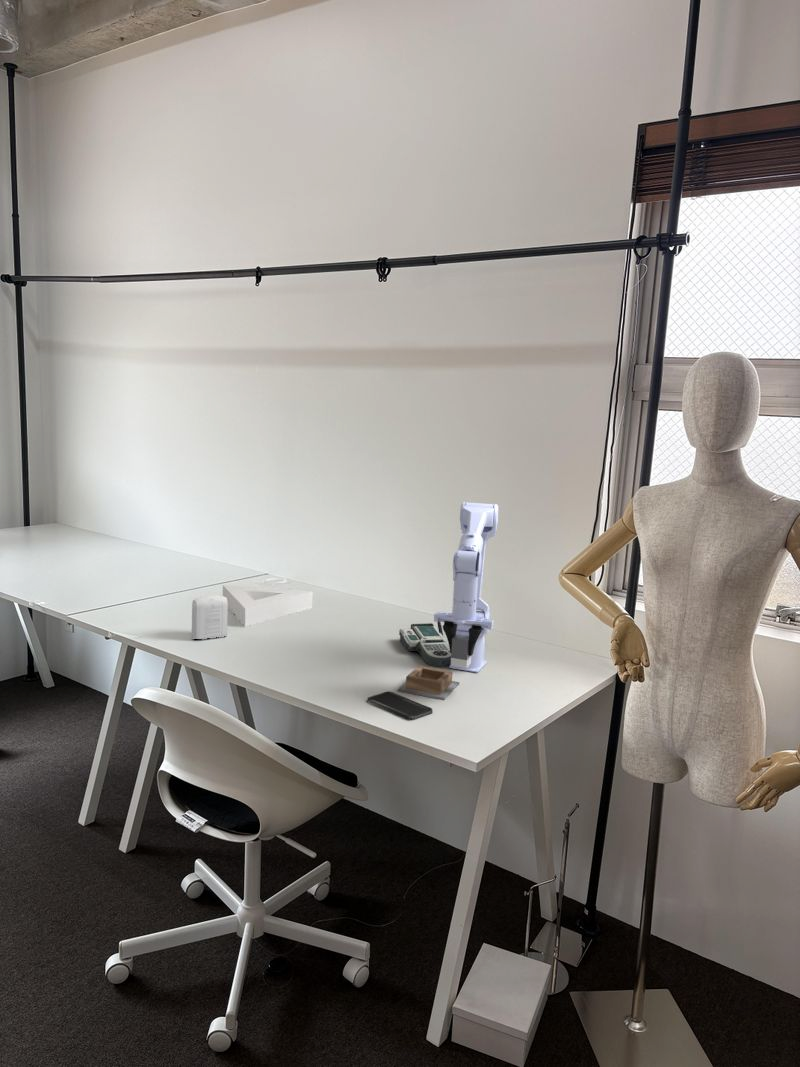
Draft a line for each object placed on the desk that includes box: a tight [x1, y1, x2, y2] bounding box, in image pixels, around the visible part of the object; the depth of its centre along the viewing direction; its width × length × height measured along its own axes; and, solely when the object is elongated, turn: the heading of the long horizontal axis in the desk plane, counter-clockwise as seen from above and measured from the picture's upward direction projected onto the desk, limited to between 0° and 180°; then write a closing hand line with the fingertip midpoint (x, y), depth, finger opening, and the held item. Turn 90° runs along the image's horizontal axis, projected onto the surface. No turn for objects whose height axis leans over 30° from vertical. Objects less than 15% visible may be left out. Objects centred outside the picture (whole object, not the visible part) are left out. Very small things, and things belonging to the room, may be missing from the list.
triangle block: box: [222, 584, 314, 628], centre depth 263 cm, size 30×26×6 cm
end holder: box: [397, 665, 460, 701], centre depth 208 cm, size 12×12×4 cm
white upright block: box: [191, 594, 229, 640], centre depth 239 cm, size 10×4×12 cm, turn 123°
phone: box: [366, 691, 433, 721], centre depth 196 cm, size 8×1×15 cm
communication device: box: [398, 621, 451, 668], centre depth 235 cm, size 12×24×9 cm, turn 14°
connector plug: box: [451, 634, 471, 668], centre depth 206 cm, size 4×4×7 cm
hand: (461, 653), depth 207 cm, fingers closed on connector plug, 4 cm apart
